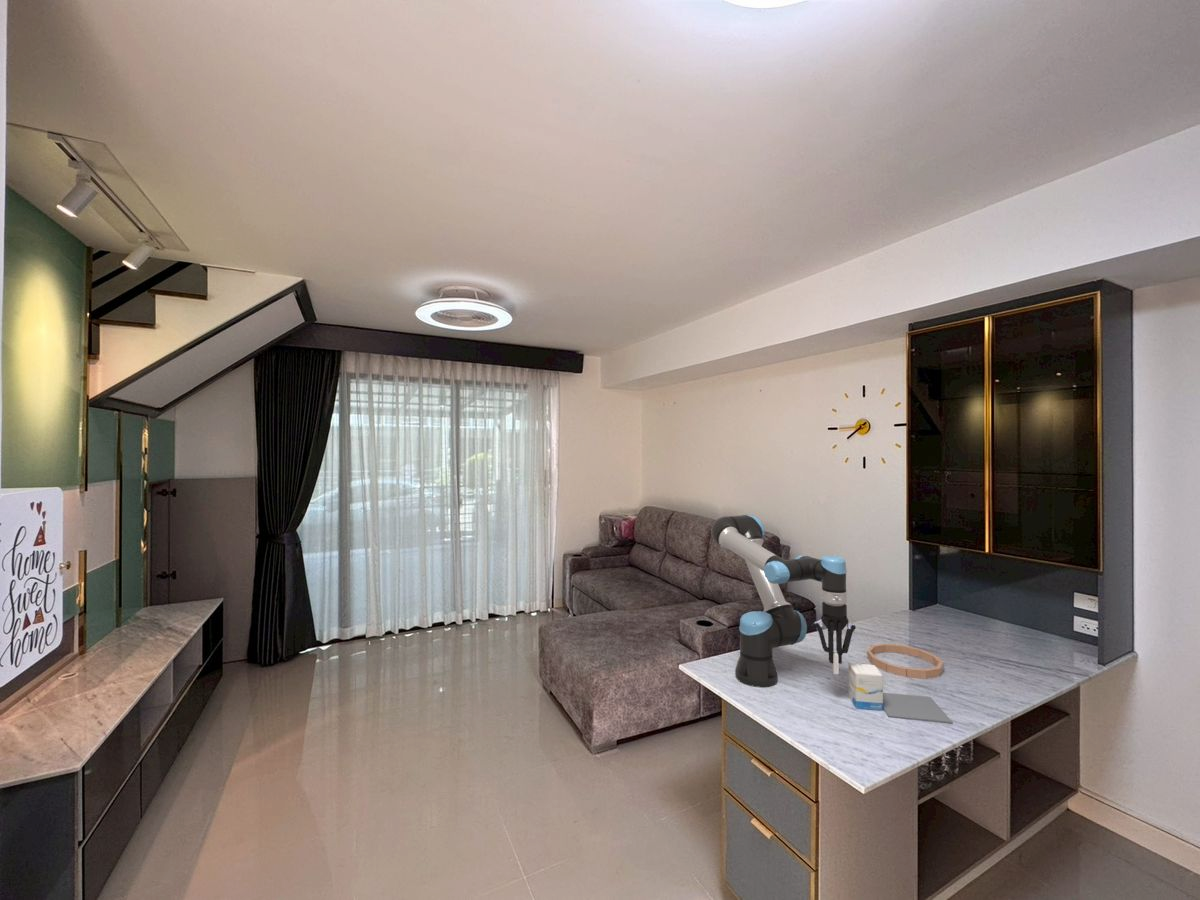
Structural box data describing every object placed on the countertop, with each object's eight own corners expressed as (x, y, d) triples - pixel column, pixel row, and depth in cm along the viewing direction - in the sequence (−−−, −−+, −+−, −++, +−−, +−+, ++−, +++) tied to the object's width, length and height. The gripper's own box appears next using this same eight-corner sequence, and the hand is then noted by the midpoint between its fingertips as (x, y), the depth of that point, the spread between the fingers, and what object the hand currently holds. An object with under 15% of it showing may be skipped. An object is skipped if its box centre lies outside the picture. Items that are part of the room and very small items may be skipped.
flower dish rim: (879, 675, 186) (879, 667, 186) (860, 649, 211) (860, 642, 211) (954, 681, 181) (954, 673, 181) (925, 653, 205) (925, 646, 205)
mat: (888, 717, 157) (888, 715, 157) (872, 693, 173) (872, 691, 173) (952, 723, 153) (952, 722, 153) (930, 698, 169) (930, 696, 169)
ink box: (883, 711, 161) (883, 675, 161) (855, 708, 162) (855, 673, 162) (874, 698, 169) (874, 664, 169) (848, 696, 171) (847, 662, 171)
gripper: (815, 604, 166) (816, 675, 165) (858, 607, 163) (859, 679, 162) (811, 598, 173) (812, 666, 173) (852, 600, 170) (853, 669, 170)
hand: (835, 672), depth 168 cm, fingers closed
